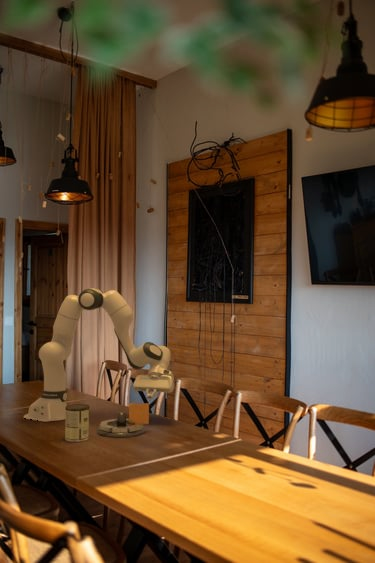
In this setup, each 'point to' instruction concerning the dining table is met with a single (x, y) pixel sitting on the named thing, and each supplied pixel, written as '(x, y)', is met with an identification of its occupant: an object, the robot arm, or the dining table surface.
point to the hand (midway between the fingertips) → (149, 397)
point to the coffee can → (77, 422)
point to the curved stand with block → (136, 419)
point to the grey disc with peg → (121, 423)
